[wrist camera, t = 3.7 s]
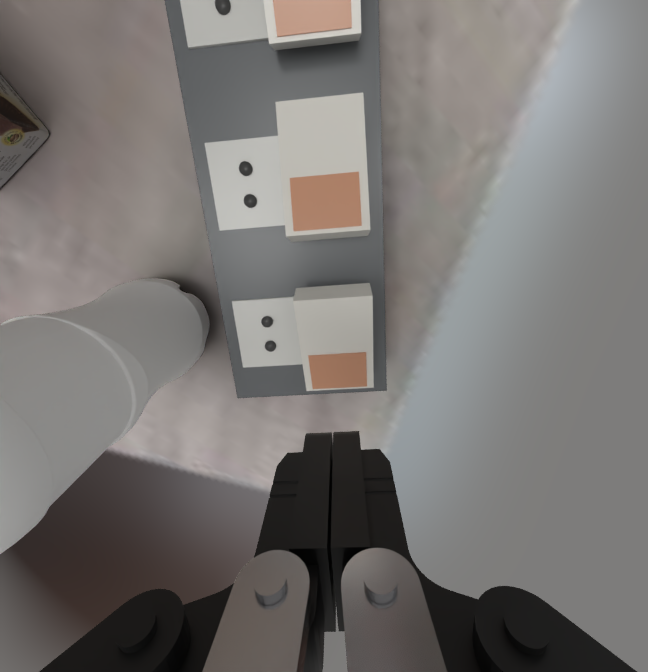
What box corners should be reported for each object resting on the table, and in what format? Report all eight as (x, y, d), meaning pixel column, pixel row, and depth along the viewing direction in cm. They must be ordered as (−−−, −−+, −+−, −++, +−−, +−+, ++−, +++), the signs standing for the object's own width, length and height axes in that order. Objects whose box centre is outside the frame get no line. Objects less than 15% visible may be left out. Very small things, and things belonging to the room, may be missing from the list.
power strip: (187, -53, 19) (130, -155, 14) (365, -77, 19) (376, -194, 13) (254, 367, 28) (235, 402, 22) (378, 360, 27) (387, 395, 22)
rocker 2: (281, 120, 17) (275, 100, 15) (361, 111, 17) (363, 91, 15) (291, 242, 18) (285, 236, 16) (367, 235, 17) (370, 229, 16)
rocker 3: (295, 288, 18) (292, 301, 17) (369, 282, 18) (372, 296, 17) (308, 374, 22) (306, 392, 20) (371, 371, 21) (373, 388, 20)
